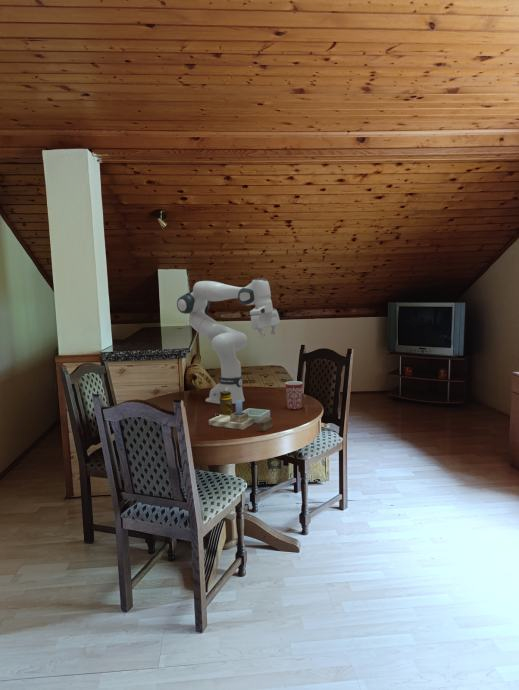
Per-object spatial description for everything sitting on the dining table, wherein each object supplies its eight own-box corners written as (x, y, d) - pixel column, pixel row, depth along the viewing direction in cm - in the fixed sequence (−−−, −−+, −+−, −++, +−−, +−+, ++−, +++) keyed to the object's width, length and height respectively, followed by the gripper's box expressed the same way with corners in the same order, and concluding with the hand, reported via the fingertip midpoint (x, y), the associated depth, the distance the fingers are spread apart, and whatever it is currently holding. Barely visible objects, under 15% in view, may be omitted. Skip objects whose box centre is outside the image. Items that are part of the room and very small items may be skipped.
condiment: (234, 416, 226) (233, 393, 225) (217, 418, 224) (216, 394, 223) (231, 413, 233) (230, 390, 232) (215, 414, 231) (214, 391, 230)
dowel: (235, 420, 210) (234, 401, 209) (238, 419, 213) (237, 400, 212) (240, 421, 209) (240, 402, 208) (243, 419, 211) (243, 400, 210)
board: (209, 425, 213) (208, 413, 212) (220, 419, 222) (220, 408, 221) (242, 429, 205) (242, 417, 204) (253, 423, 213) (253, 412, 213)
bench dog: (258, 430, 202) (258, 422, 202) (266, 425, 209) (266, 417, 209) (264, 431, 201) (264, 422, 200) (272, 426, 208) (272, 418, 207)
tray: (237, 421, 218) (237, 413, 218) (249, 415, 228) (249, 408, 228) (259, 423, 213) (259, 416, 212) (270, 417, 223) (270, 410, 223)
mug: (303, 410, 235) (303, 384, 233) (285, 410, 236) (285, 384, 234) (302, 404, 248) (302, 379, 246) (285, 404, 248) (285, 379, 246)
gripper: (271, 308, 248) (274, 333, 249) (247, 312, 232) (251, 339, 233) (280, 306, 244) (284, 332, 245) (257, 310, 228) (261, 338, 229)
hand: (268, 335), depth 239 cm, fingers open, 8 cm apart
